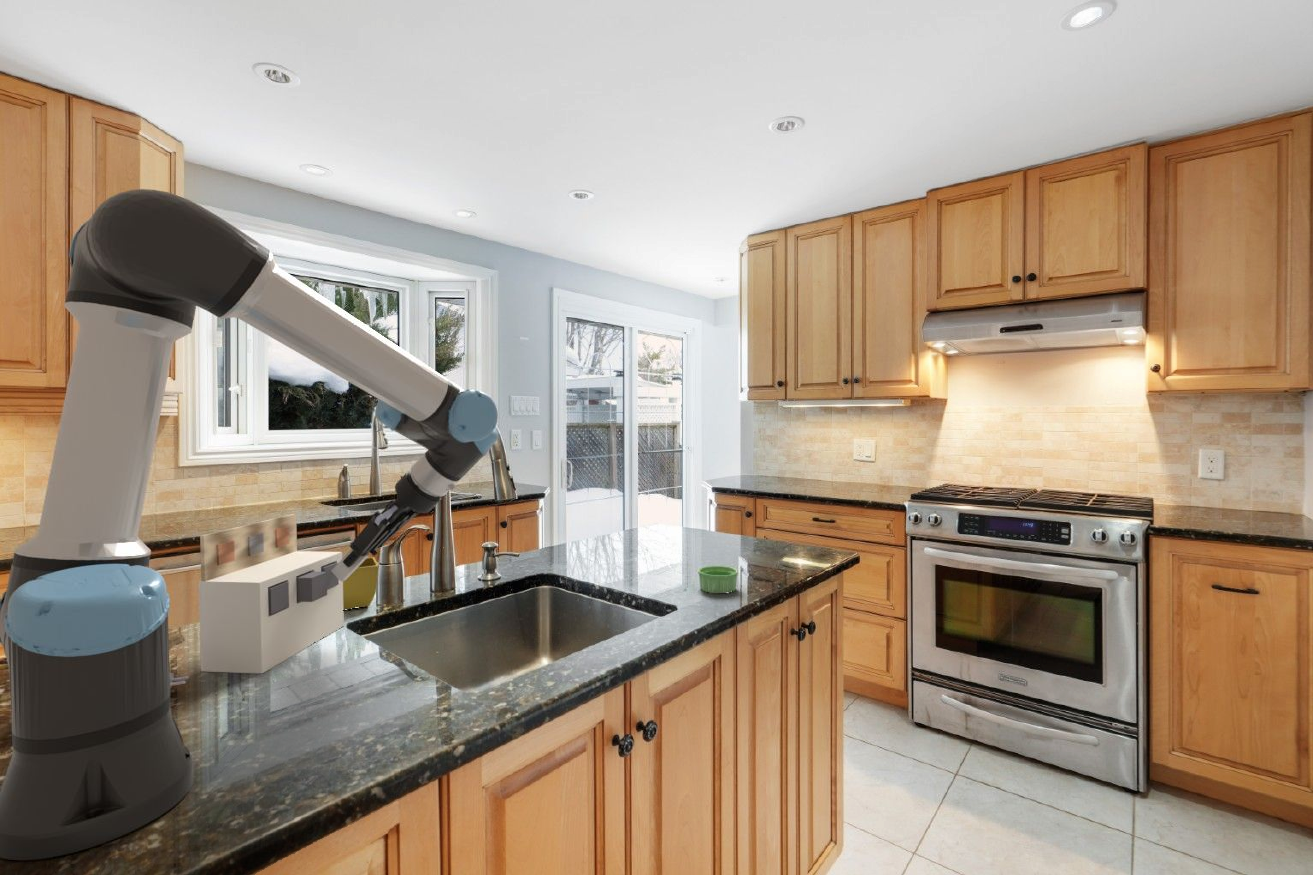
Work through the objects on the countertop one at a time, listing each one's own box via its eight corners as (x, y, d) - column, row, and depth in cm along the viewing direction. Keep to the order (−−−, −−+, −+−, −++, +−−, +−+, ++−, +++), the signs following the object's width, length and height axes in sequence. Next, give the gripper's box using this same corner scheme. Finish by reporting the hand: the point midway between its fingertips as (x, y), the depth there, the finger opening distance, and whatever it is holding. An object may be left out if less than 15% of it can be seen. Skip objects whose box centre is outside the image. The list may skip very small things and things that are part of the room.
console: (262, 673, 94) (259, 582, 93) (200, 671, 94) (198, 581, 94) (343, 626, 114) (342, 551, 114) (293, 624, 115) (291, 550, 115)
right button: (325, 590, 108) (324, 568, 108) (307, 590, 108) (307, 567, 108) (338, 584, 112) (338, 562, 112) (322, 583, 112) (321, 562, 112)
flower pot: (330, 616, 120) (329, 570, 120) (328, 604, 128) (327, 561, 128) (379, 609, 125) (378, 565, 124) (374, 598, 132) (374, 556, 132)
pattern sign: (206, 581, 94) (205, 536, 93) (201, 581, 94) (200, 535, 94) (298, 551, 115) (297, 513, 114) (294, 551, 115) (293, 513, 114)
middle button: (312, 601, 101) (311, 578, 101) (293, 601, 102) (293, 577, 102) (327, 594, 105) (326, 571, 105) (309, 594, 106) (309, 571, 106)
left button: (271, 614, 95) (270, 588, 95) (252, 613, 95) (251, 588, 95) (289, 606, 99) (288, 581, 99) (270, 605, 99) (269, 581, 99)
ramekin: (725, 582, 145) (725, 564, 145) (745, 592, 136) (745, 572, 136) (691, 586, 141) (691, 567, 141) (710, 597, 133) (710, 577, 133)
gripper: (423, 503, 101) (330, 601, 103) (456, 493, 114) (372, 580, 116) (392, 471, 102) (299, 569, 104) (428, 465, 114) (345, 552, 117)
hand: (338, 575), depth 110 cm, fingers closed
